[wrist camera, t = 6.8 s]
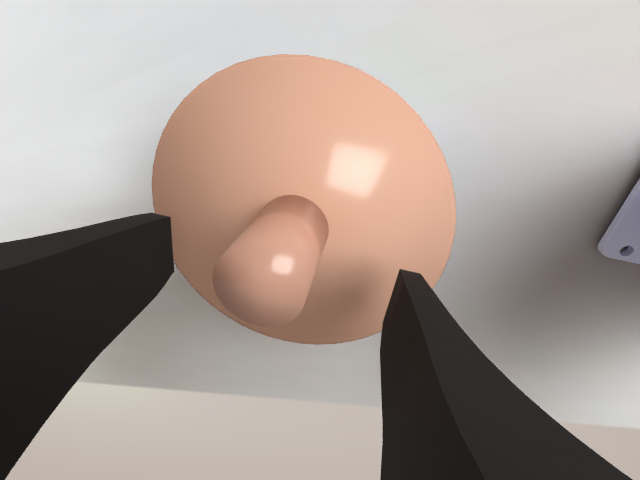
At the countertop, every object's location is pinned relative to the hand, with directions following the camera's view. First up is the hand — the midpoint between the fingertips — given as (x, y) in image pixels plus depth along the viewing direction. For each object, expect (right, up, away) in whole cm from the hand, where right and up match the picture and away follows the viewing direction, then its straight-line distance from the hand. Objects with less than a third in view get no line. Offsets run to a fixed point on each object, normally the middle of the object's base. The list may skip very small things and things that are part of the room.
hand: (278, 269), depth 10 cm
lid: (+1, +2, +2) cm, 2 cm away
